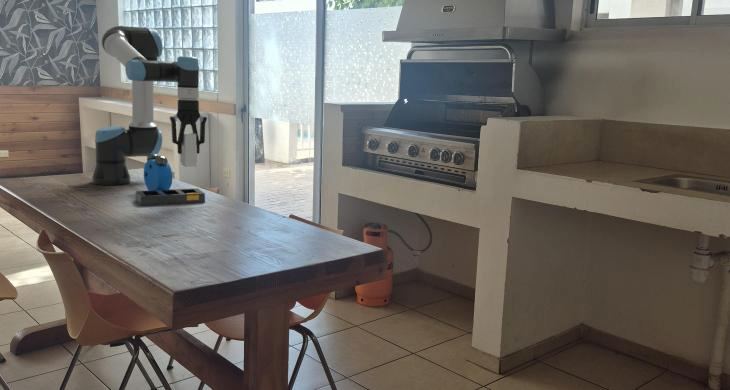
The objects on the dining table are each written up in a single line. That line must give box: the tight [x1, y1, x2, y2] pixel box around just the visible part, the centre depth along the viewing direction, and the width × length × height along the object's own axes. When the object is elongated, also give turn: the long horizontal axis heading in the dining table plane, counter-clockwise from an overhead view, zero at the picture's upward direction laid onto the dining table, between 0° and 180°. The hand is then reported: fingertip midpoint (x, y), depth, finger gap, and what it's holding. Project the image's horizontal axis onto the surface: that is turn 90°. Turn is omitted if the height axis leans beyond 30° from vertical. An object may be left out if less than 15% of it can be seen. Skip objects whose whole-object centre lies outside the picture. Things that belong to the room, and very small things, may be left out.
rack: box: [135, 188, 206, 207], centre depth 247 cm, size 11×23×4 cm, turn 118°
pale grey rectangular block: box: [180, 131, 197, 168], centre depth 247 cm, size 7×4×12 cm, turn 27°
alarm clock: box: [143, 154, 173, 191], centre depth 263 cm, size 13×6×15 cm, turn 44°
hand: (188, 162), depth 248 cm, fingers closed on pale grey rectangular block, 4 cm apart
